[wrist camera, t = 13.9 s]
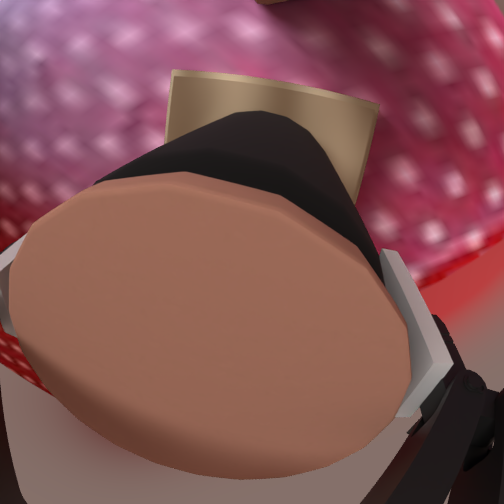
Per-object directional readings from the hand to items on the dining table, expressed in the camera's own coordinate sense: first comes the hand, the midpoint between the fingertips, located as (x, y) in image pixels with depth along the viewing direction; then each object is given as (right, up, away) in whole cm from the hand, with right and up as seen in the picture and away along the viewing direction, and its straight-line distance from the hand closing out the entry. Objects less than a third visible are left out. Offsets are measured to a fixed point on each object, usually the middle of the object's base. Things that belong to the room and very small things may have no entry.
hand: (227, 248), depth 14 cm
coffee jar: (+1, +5, +9) cm, 11 cm away
